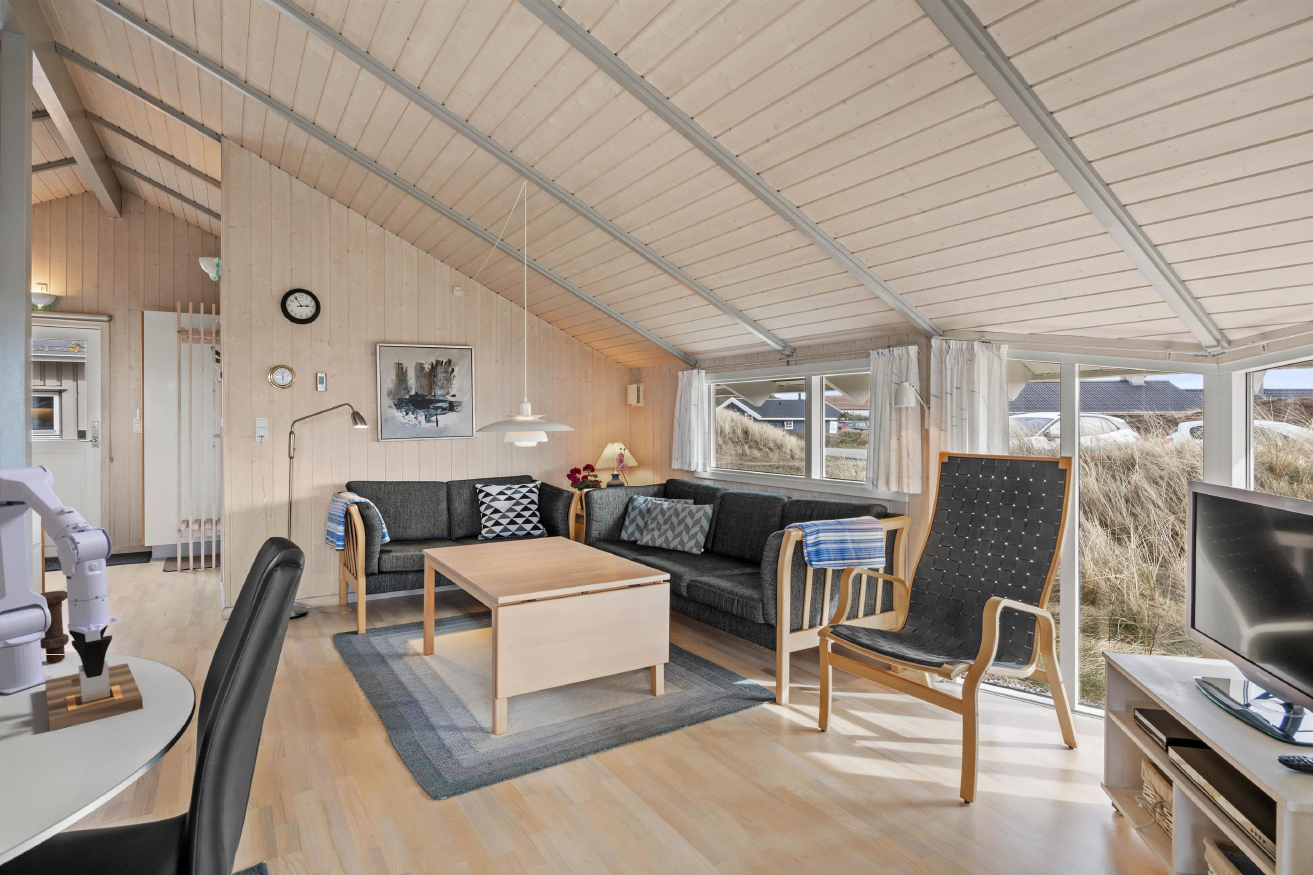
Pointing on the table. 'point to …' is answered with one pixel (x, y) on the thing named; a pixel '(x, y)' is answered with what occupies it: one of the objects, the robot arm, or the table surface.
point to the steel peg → (94, 686)
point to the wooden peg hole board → (71, 712)
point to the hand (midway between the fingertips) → (92, 670)
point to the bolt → (55, 627)
